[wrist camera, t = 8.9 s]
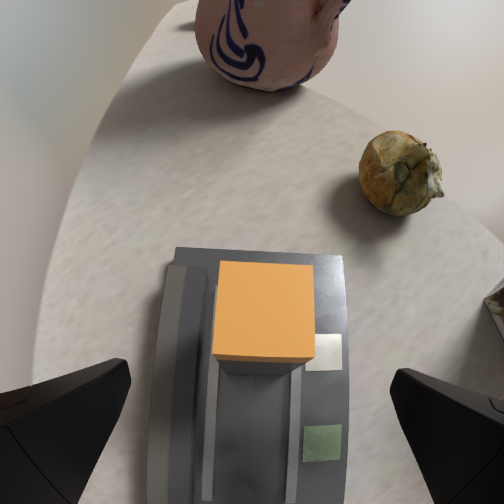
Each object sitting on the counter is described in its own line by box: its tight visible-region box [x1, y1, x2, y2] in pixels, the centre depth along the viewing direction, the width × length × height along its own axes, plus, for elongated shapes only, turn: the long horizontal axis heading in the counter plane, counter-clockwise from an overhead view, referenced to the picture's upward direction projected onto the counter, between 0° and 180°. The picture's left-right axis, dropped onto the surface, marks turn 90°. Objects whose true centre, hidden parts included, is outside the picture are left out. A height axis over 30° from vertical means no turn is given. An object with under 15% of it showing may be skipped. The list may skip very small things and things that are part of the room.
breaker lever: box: [212, 261, 315, 376], centre depth 14 cm, size 4×4×8 cm
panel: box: [173, 247, 349, 504], centre depth 17 cm, size 20×12×2 cm, turn 177°
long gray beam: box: [147, 265, 208, 504], centre depth 16 cm, size 16×2×1 cm, turn 177°
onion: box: [359, 131, 444, 216], centre depth 23 cm, size 8×8×8 cm
